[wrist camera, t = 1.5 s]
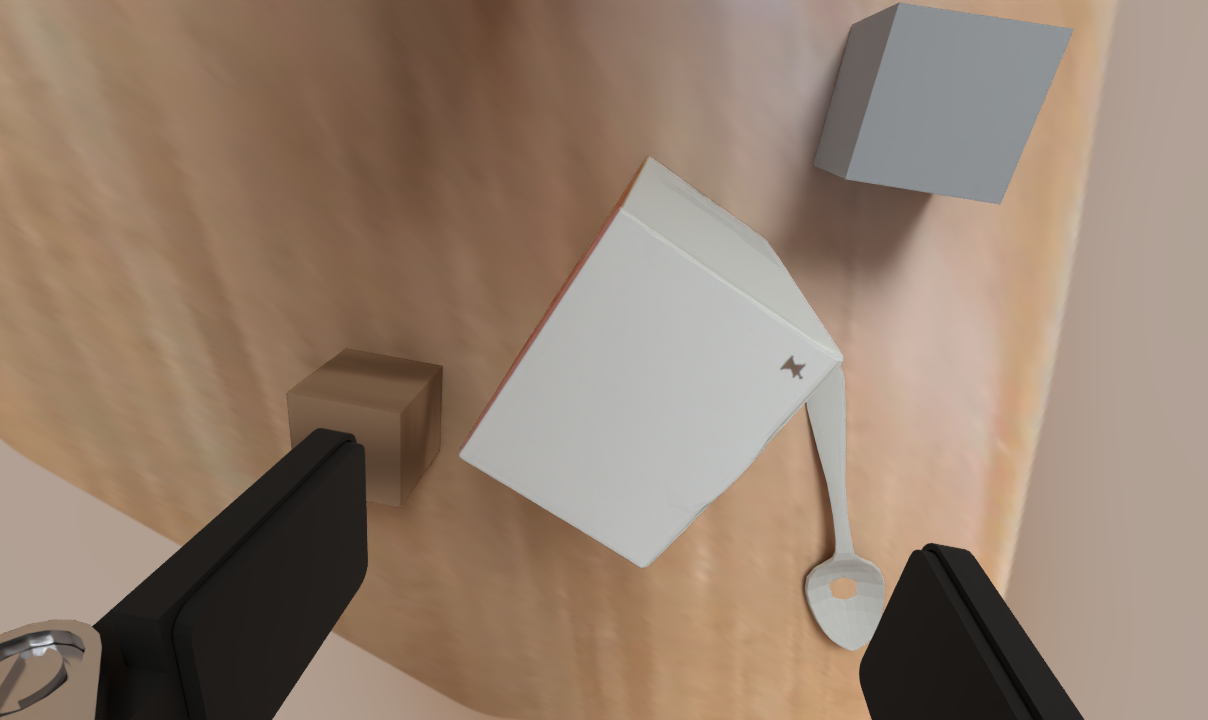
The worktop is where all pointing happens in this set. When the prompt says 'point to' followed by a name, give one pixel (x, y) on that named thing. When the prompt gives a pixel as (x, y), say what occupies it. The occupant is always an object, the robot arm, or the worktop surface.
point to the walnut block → (375, 416)
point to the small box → (654, 371)
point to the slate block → (938, 100)
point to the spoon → (840, 532)
